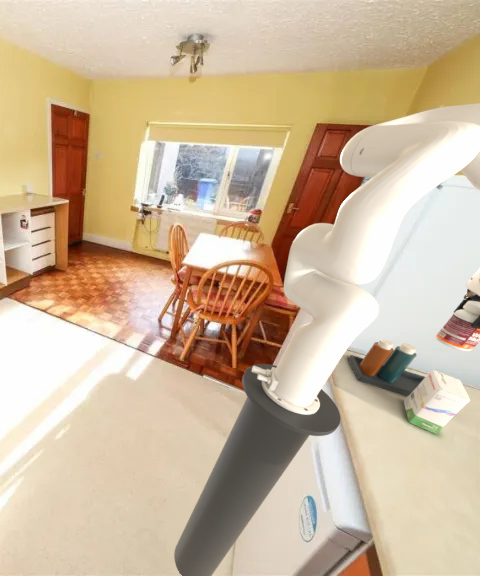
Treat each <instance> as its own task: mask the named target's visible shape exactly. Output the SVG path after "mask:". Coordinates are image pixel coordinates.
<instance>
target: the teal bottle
mask: <svg viewBox="0 0 480 576" xmlns="http://www.w3.org/2000/svg"><path fill="white" fill-rule="evenodd" d="M393 350H394V351H393V352H392V354H391V355H390V356H389V358H388V359H387V360H386V362H385V363H384V364H383V366H382V367H381V368H380V370H379V371H378V372H377V376H378V377H379V378H381V379H383V380H385V381H387V382H390V383H394V382H395V381H396V380H397V379H398V378H399V377H400V375H401V374H402V373H403V372H404V371H406V369H408V367H409V365H411V363H412V362H413V361H414V360H415V358H416V357H417V353H416V352H417V351H418V348H417V347H416V346H414V345H412V344H409V343H405V342H404V343H402V344H401V345H400V346H399V345H398V346H396V347H395V348H394V349H393Z"/></svg>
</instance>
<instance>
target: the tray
mask: <svg viewBox="0 0 480 576" xmlns="http://www.w3.org/2000/svg"><path fill="white" fill-rule="evenodd" d="M363 359H364V357H360V356H357V355H353V354H350V355H349V356H348V357H347V360H348V362H349V365H350V367H351V369H352V371H353V373H354V375H355V377H356V379H357V381H358V382H362V383H365V384H368V385H370V386H373V387H377V388H381V389H382V390H385V391H389V392H393V393H395V394H399V395H402V396H405V397H408V396H409V395H410V394H411V393H412V392H413V391H414V389H415V388H416V387H417V386H418V385H419V384H420V383H421V382H422V380H423V379H424V378H425V377H426V376H424V375H420V374H417V373H414V372H410V371H407V370H404V372H403V373H402V374H401V375H400V377H399V378H398V379H397V380H396V381H395V382H394V383H390V382H387V381H385V380H383V379H381V378H379V377H378V376H377V374H376V375H375V376H368V375H365V374H363V373H362V371H361V369H360V367H359V365H360V363H361V362H362V360H363Z"/></svg>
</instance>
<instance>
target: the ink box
mask: <svg viewBox="0 0 480 576" xmlns="http://www.w3.org/2000/svg"><path fill="white" fill-rule="evenodd" d="M424 377H425V378H424V379H423V380H422V382H421V383H420V384H419V385H418V386H417V387H416V388H415V389H414V391H413V392H412V393H411V394H410V395H409V396H406V398H405V399H404V400H403V405H404V410H405V413H406V417H407V421H408V423H410V424H412V425H415V426H416V427H418V428H421V429H423V430H424V431H425V430H426V431H428V432H430V433H432V434H435V435H436V434H438V433H439V432H440V431H441V429H443V428H444V427H445V426H446V425H447V424H449V422H450V421H451V420H452V419H453V418H454V417H455V416H456V415H458V413H459V412H460V411H461V410H462V409H463V408H464V407H465V406H466V405H467V404H469V402H470V401H471V399H470V396H469V395H468V393H467V391H466V389H465V387H464V385H463V383H462V381H461V380H460V379H458V378H455V377H453V376H451V375H448V374H445V373H443V372H441V371H438V370H436V369H431V370H430V371H429V372H428V373H427V375H425V376H424Z"/></svg>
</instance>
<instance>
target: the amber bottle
mask: <svg viewBox="0 0 480 576" xmlns="http://www.w3.org/2000/svg"><path fill="white" fill-rule="evenodd" d="M394 346H395V343H393V342H392V341H391V340H388V339H384V338H381V339H380V340H379V341H375V342H374V343H373V344H372V346H371V347H370V349H369V350H368V351H367V353H366V354H365V356H364V357H363V358H364V359H363V360H362V362H361V363H360V365H359V367H360V369H361V371H362V373H363V374H365V375H368V376H375V375H376V374H377V372H378V371H379V370H380V368H381V367H382V366H383V364H384V363H385V362H386V360H387V359H388V358H389V356H390V355H391V354H392V352H393V351H394V349H393V348H394Z"/></svg>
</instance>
